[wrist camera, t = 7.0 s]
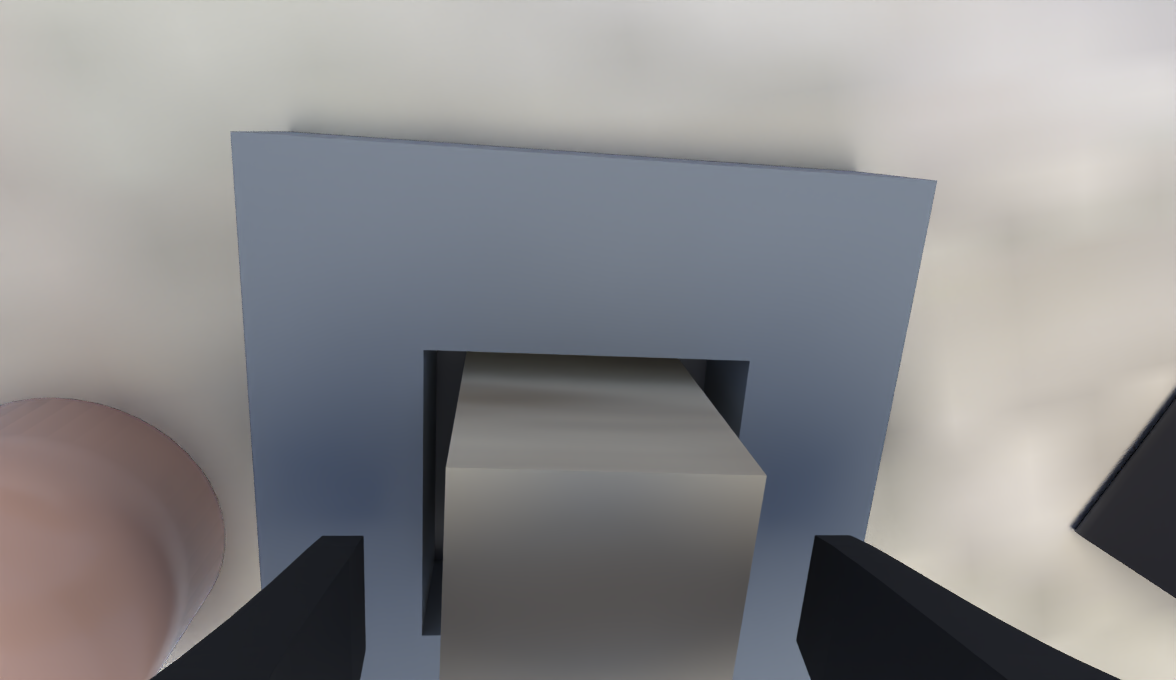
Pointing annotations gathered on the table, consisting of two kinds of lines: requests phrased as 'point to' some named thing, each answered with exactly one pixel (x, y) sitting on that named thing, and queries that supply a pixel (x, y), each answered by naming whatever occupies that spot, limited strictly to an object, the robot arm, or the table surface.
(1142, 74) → the table surface
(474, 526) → the square peg
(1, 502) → the round peg
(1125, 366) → the table surface
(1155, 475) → the phone stand
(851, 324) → the socket block
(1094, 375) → the table surface
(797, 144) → the table surface
